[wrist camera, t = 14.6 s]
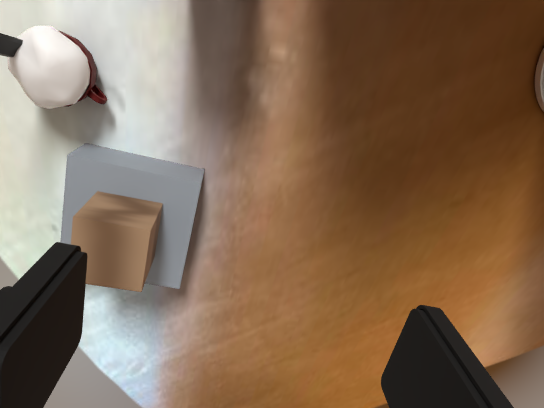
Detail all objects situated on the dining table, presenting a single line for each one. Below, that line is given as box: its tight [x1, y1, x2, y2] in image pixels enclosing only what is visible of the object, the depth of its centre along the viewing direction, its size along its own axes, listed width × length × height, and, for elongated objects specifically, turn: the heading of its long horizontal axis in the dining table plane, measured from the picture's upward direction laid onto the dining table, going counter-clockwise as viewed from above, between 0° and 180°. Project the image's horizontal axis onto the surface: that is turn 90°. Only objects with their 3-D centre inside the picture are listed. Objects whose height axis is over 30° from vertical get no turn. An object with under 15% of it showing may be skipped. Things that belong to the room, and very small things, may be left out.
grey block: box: [60, 143, 205, 289], centre depth 40 cm, size 12×12×5 cm
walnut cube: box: [71, 191, 163, 292], centre depth 35 cm, size 6×6×6 cm
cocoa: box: [0, 26, 107, 109], centre depth 31 cm, size 10×6×12 cm, turn 27°
